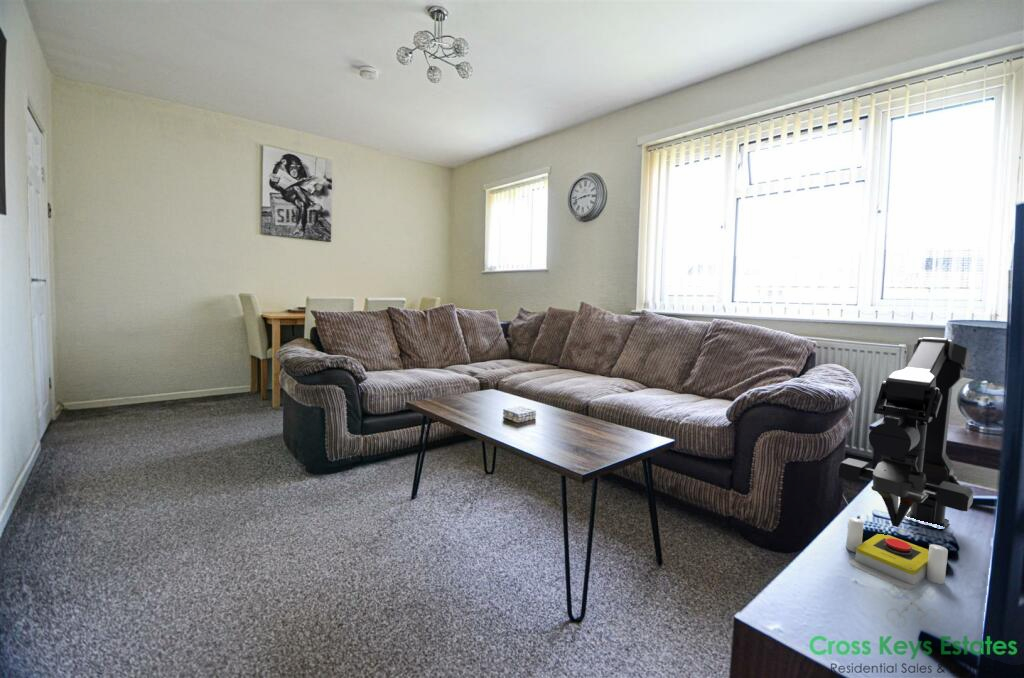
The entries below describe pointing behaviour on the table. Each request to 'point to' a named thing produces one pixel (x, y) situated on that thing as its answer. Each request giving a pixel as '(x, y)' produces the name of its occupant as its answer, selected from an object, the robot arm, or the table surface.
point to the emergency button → (892, 560)
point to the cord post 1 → (854, 534)
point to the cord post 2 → (937, 564)
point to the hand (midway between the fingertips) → (895, 525)
